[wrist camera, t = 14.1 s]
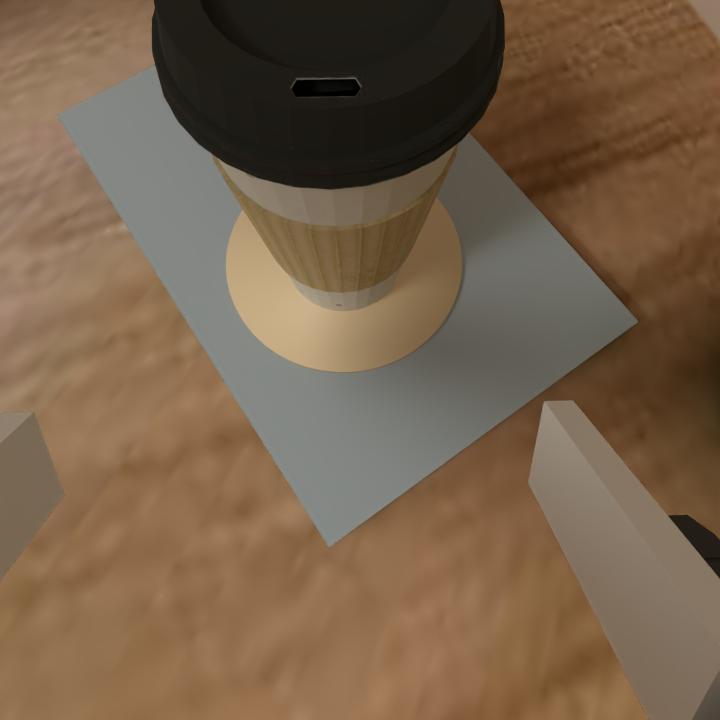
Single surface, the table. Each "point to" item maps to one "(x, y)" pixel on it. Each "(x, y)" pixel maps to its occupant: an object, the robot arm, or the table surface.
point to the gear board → (354, 311)
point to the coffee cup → (331, 120)
